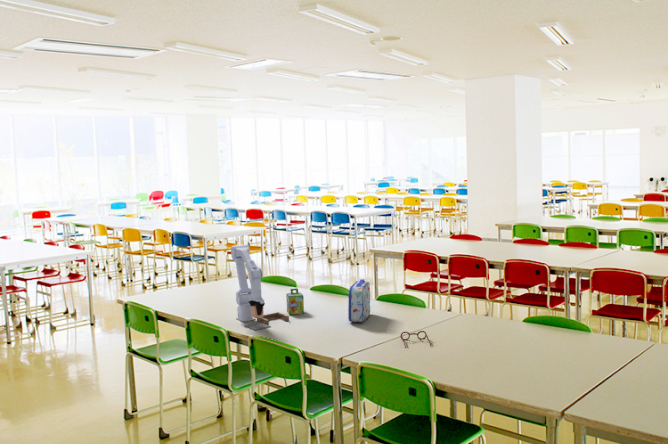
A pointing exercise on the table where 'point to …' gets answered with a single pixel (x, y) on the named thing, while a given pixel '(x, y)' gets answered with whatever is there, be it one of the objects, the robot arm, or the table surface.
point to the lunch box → (359, 301)
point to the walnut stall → (272, 317)
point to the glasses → (414, 334)
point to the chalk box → (295, 302)
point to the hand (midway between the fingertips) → (257, 314)
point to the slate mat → (257, 326)
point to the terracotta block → (255, 312)
